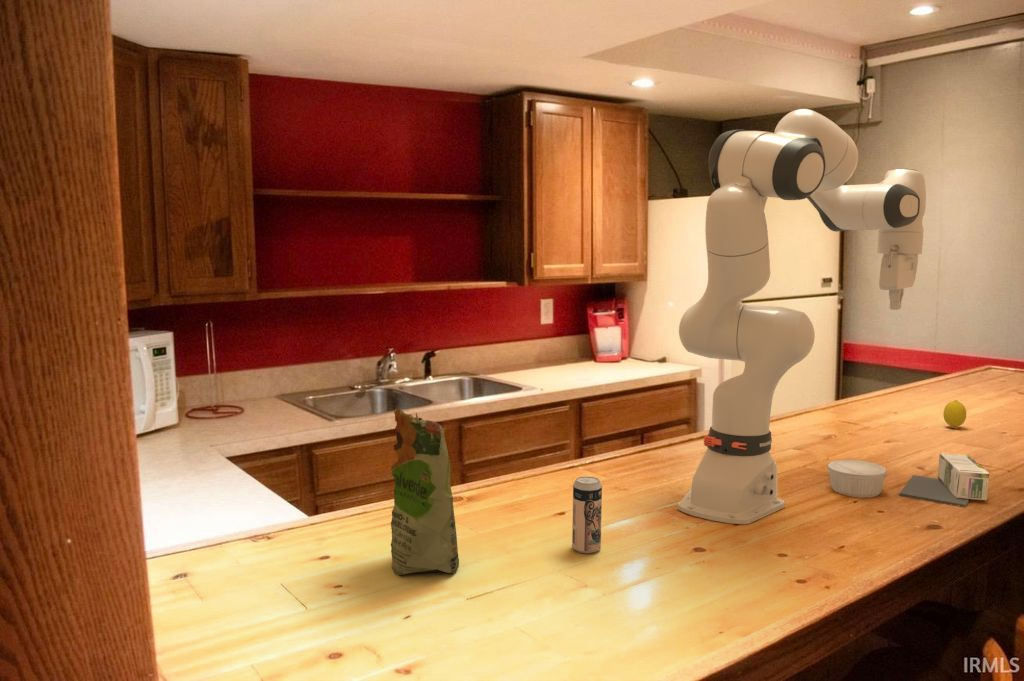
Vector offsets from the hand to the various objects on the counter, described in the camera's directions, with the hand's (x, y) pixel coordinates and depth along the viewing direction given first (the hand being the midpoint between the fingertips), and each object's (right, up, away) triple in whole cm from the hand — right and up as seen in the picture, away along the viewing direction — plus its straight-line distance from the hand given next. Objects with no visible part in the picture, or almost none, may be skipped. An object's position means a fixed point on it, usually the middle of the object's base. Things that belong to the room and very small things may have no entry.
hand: (895, 309), depth 175 cm
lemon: (+39, -32, +47) cm, 69 cm away
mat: (+5, -38, -9) cm, 39 cm away
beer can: (-72, -42, -41) cm, 93 cm away
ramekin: (-12, -38, -9) cm, 41 cm away
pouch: (-98, -43, -49) cm, 118 cm away
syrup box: (+11, -34, -2) cm, 36 cm away
